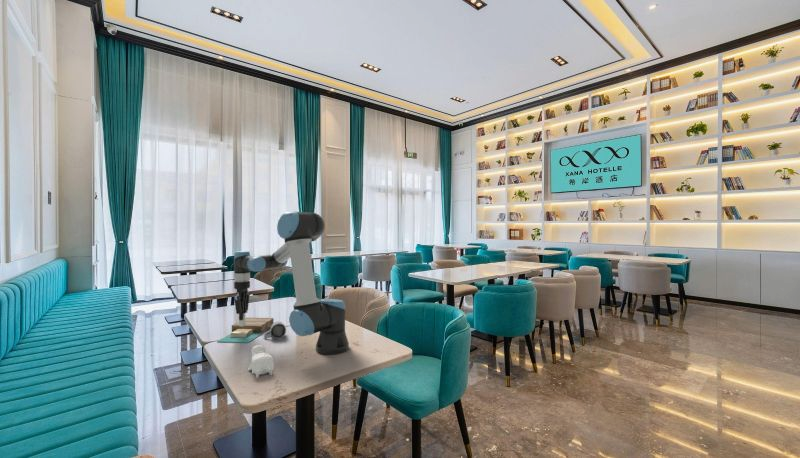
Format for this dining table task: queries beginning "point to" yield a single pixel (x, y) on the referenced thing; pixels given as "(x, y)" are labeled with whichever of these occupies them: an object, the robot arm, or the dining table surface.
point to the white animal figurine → (260, 361)
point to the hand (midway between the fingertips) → (242, 325)
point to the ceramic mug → (276, 330)
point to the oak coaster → (241, 332)
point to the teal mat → (240, 338)
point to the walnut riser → (255, 324)
